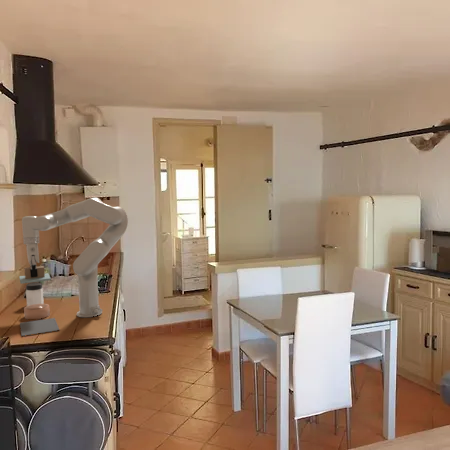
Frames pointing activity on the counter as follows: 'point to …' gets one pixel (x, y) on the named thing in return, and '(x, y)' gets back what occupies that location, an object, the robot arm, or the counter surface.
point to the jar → (34, 293)
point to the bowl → (36, 311)
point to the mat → (38, 326)
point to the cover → (29, 279)
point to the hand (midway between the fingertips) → (33, 275)
